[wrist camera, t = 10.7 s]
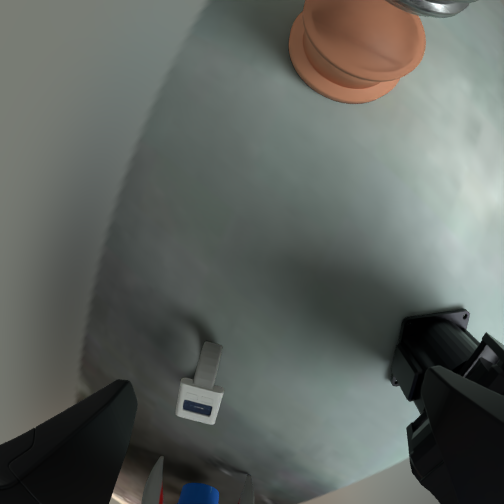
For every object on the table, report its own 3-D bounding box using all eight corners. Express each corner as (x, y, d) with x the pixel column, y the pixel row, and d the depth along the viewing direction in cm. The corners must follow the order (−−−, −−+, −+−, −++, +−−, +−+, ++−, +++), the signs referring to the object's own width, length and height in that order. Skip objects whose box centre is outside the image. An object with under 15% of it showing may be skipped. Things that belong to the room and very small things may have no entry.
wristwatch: (198, 324, 22) (183, 364, 17) (235, 334, 22) (228, 376, 18) (186, 386, 24) (172, 428, 19) (218, 394, 24) (210, 438, 19)
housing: (414, 90, 17) (452, 74, 12) (316, 118, 18) (333, 102, 13) (368, -2, 15) (392, -36, 11) (270, 19, 16) (271, -19, 12)
